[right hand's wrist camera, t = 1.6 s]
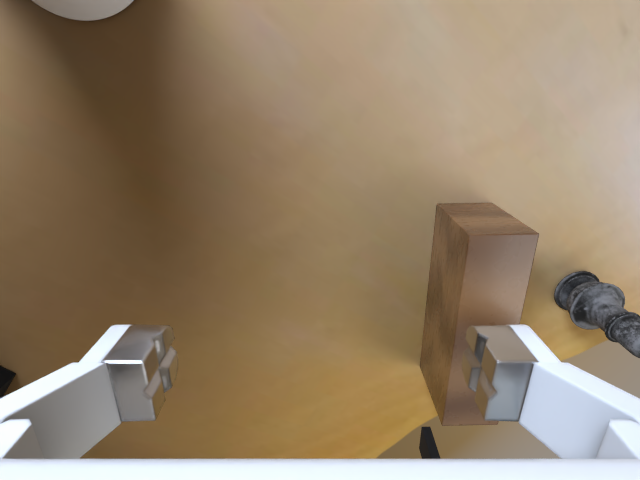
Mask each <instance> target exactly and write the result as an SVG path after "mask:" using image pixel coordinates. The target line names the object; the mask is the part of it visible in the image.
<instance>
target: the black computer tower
mask: <svg viewBox="0 0 640 480" xmlns="http://www.w3.org/2000/svg"><path fill="white" fill-rule="evenodd" d="M14 376H15V373H13V372H11V371H9V370H7V369H5V368H3V367H1V366H0V398H2V397H3V395H4V393H5V392H6V390H7V388H8V386H9V385H10V383H11V381H12V380H13V378H14Z"/></svg>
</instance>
